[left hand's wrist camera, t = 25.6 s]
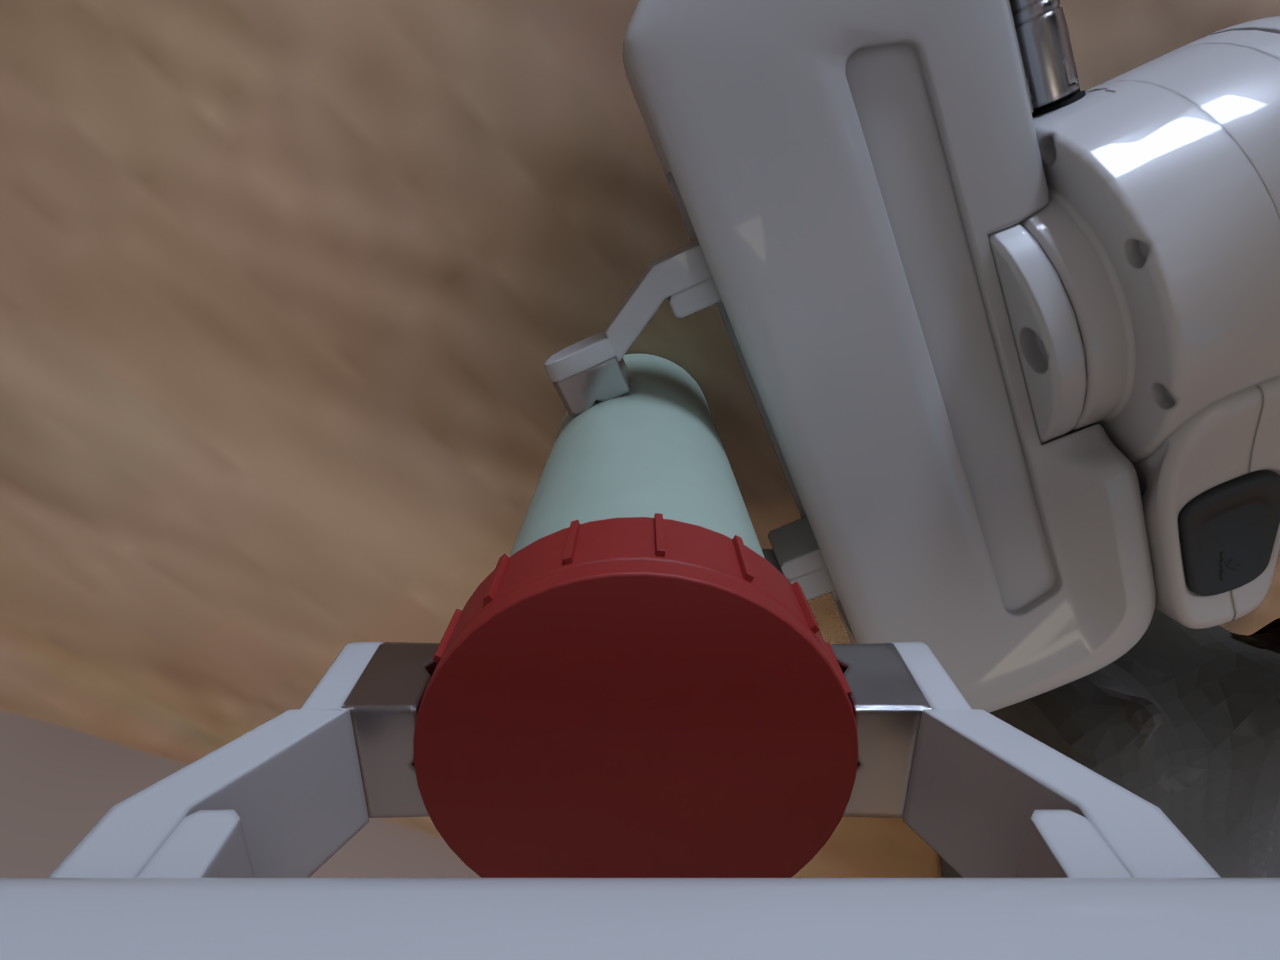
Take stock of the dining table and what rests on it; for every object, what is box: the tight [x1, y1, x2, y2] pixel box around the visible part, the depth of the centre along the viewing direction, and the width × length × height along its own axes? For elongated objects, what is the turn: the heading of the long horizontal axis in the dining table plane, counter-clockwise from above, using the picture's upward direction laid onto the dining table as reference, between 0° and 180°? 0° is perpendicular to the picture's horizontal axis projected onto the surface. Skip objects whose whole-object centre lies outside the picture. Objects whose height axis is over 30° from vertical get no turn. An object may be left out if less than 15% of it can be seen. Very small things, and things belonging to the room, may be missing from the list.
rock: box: [942, 608, 1280, 878], centre depth 25 cm, size 18×11×8 cm, turn 8°
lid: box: [413, 513, 859, 878], centre depth 10 cm, size 6×6×2 cm
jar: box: [510, 354, 765, 558], centre depth 17 cm, size 5×5×15 cm
